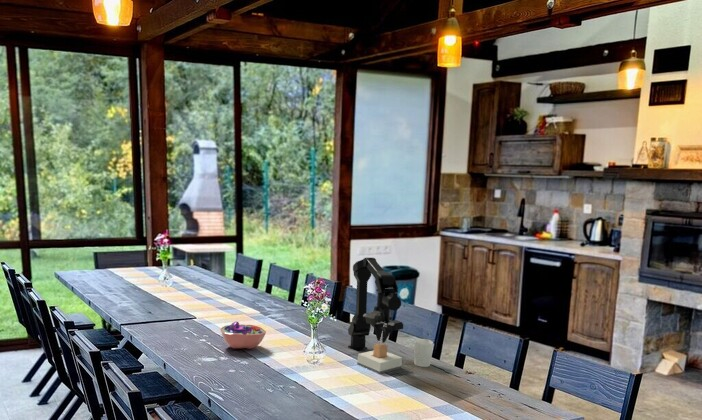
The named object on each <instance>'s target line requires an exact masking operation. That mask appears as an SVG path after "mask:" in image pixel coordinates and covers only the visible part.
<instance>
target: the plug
mask: <svg viewBox="0 0 702 420" xmlns="http://www.w3.org/2000/svg"><path fill="white" fill-rule="evenodd" d="M373 350H374V351H373ZM373 350H372V351H373V356H374V357H376V358H379V359H380V358H384V357H387V352H388V345H387V344H384V343H383V342H382V343H377V344H374V345H373Z"/></svg>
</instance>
